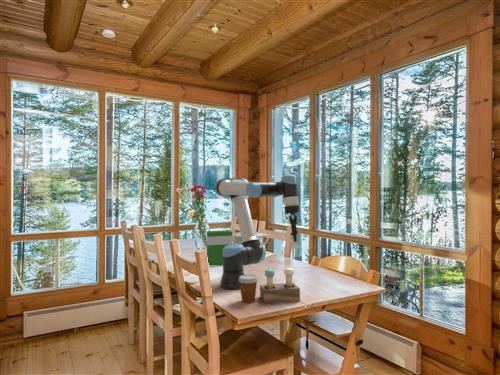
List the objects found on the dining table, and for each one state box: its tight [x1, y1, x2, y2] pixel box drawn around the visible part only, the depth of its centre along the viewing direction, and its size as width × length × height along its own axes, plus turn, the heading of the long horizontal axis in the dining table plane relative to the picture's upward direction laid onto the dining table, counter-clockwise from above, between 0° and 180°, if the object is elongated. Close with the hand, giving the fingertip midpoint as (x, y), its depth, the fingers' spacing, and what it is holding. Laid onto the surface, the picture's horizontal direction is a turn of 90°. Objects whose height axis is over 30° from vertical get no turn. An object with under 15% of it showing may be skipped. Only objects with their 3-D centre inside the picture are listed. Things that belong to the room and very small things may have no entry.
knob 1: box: [264, 268, 275, 289], centre depth 171 cm, size 5×5×9 cm
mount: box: [259, 282, 301, 304], centre depth 172 cm, size 10×18×6 cm, turn 100°
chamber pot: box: [232, 231, 269, 246], centre depth 283 cm, size 28×28×21 cm
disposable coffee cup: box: [239, 274, 259, 304], centre depth 169 cm, size 10×10×12 cm
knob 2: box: [283, 267, 295, 288], centre depth 173 cm, size 5×5×9 cm
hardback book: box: [206, 229, 233, 266], centre depth 249 cm, size 18×7×24 cm, turn 104°
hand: (296, 247), depth 172 cm, fingers open, 13 cm apart
